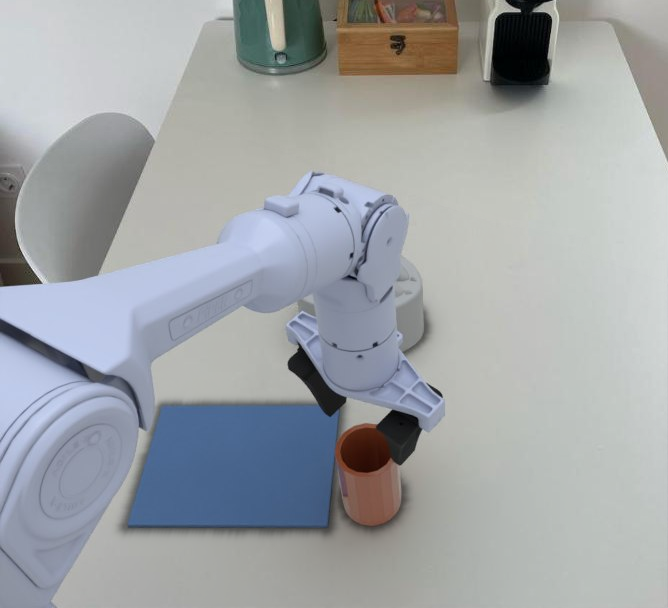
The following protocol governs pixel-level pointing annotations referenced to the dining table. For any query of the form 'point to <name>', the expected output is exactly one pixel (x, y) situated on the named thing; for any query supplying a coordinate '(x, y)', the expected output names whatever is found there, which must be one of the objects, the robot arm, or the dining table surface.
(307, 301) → the lumpy-topped squat cylinder
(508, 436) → the dining table surface
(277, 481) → the towel
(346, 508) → the cup
